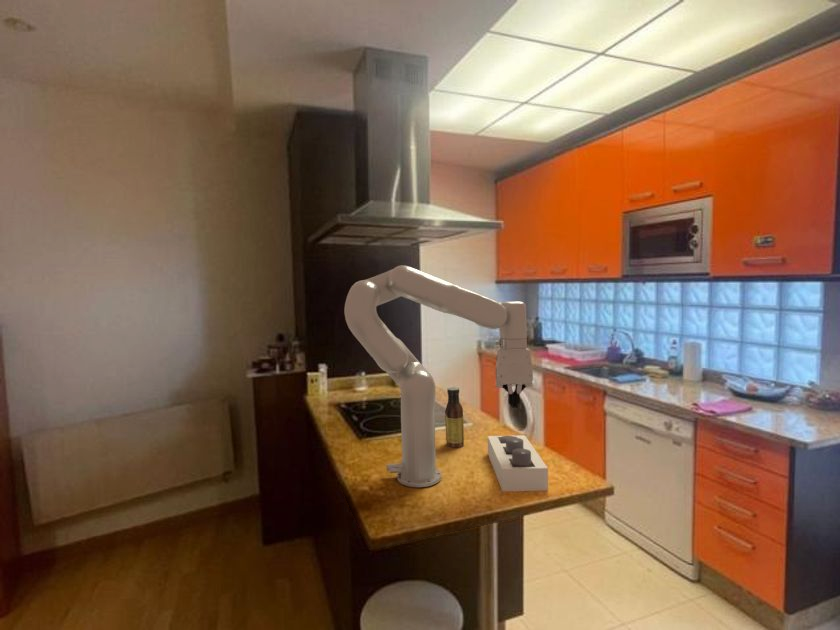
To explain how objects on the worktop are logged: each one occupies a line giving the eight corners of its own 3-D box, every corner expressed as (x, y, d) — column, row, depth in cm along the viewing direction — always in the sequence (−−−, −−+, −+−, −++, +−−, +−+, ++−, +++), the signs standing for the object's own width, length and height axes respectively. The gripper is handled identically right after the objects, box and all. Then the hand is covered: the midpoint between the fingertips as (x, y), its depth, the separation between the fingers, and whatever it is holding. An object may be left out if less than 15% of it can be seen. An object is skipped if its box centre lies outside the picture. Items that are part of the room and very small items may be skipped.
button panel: (502, 491, 114) (502, 469, 114) (487, 454, 140) (487, 436, 140) (548, 490, 114) (547, 468, 114) (525, 453, 140) (524, 435, 140)
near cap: (514, 475, 116) (514, 455, 115) (510, 468, 121) (510, 448, 120) (533, 475, 116) (532, 455, 115) (528, 467, 121) (528, 448, 120)
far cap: (502, 458, 134) (502, 441, 134) (499, 452, 139) (499, 435, 138) (518, 458, 134) (518, 441, 133) (515, 452, 139) (515, 435, 138)
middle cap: (507, 462, 125) (507, 443, 124) (504, 455, 130) (504, 437, 129) (525, 462, 125) (525, 443, 124) (521, 455, 130) (521, 437, 129)
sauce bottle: (453, 440, 154) (451, 385, 153) (467, 444, 150) (466, 387, 149) (442, 446, 149) (440, 388, 148) (457, 449, 145) (455, 391, 144)
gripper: (489, 346, 122) (490, 410, 123) (542, 345, 122) (543, 409, 123) (485, 343, 129) (486, 404, 130) (535, 342, 129) (536, 402, 130)
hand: (514, 406), depth 127 cm, fingers closed
